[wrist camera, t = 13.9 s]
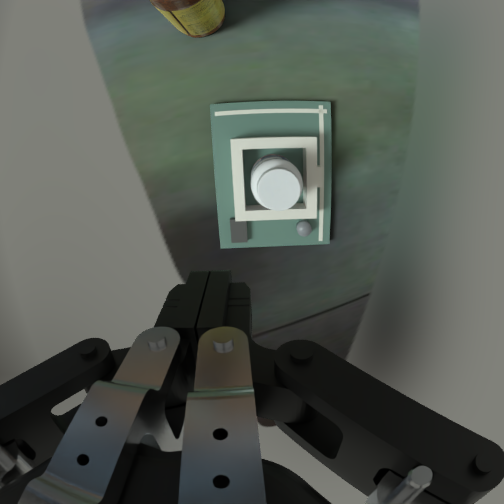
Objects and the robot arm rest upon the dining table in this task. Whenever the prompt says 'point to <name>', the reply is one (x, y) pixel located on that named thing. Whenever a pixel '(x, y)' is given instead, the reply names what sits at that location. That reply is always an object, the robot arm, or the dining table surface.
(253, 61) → the dining table surface
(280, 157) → the pill bottle
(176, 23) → the sauce bottle
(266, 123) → the board
